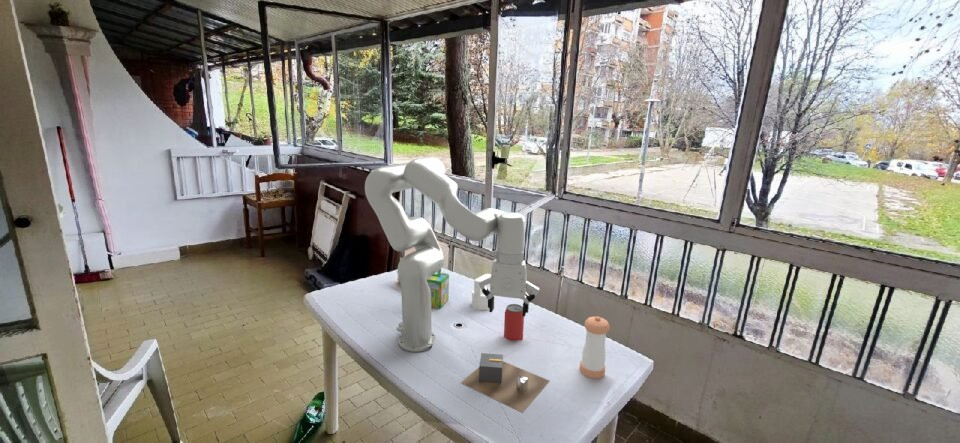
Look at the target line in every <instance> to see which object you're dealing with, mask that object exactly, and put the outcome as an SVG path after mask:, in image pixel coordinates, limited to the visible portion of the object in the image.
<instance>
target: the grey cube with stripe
mask: <svg viewBox="0 0 960 443" xmlns="http://www.w3.org/2000/svg"><path fill="white" fill-rule="evenodd" d="M503 361H504V355H503V354H500V353H484V352H481V354H480V358H479V365H478V366H479V367H478V368H479V381H480V382H493V383H502V366H503Z"/></svg>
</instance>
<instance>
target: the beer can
mask: <svg viewBox="0 0 960 443" xmlns="http://www.w3.org/2000/svg"><path fill="white" fill-rule="evenodd" d="M522 313H523V305H521V304H517V303H510V304H508V305H507V306H506V308H505V312H504V322H503V323H504V324H503V326H504V327H503V338H505V339H506V340H508V341H513V342H515V341H520V342H521V341H523V339H524V326H525V323H524V322H525V317H523V316H522Z"/></svg>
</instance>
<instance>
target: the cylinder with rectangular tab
mask: <svg viewBox="0 0 960 443" xmlns="http://www.w3.org/2000/svg"><path fill="white" fill-rule="evenodd" d="M489 278H491V273H485V274H483V275H481V276H479V277H477V278H476V279H475V278H474V283H473V284H474V285H473V286H474V288H473V289H472V291H471V306H472V308H473V309H475V310H477V311H489V308H488V299H487V297H486V296H485V295H484V294H483V293H482V290H481V288H480V286H479V283H480V282H481V281H483V280H486V279H489ZM485 286H486V288H487V289H488V290H489V291H490V284H487V285H485ZM494 297H495V295H494Z"/></svg>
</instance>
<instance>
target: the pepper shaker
mask: <svg viewBox="0 0 960 443" xmlns="http://www.w3.org/2000/svg"><path fill="white" fill-rule="evenodd" d="M584 328H585V329H586V330H585V331H586V333H585V334H586V335H585V342H584V346H583V349H582V355H581V360H580V363H579V371H580V373H581V374H583V376H585V377H587V378H590V379H600V378H603V377H604V376H605V374H606V365H605V364H606V363H605V362H606V338H607V337H606V336H607V333H608V332H609V331H610V328H611V326H610V324H609V322H608V320H607V319H606V318H603V317H600V316H589V317H588V318H587V319H586V320H585V322H584Z"/></svg>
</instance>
